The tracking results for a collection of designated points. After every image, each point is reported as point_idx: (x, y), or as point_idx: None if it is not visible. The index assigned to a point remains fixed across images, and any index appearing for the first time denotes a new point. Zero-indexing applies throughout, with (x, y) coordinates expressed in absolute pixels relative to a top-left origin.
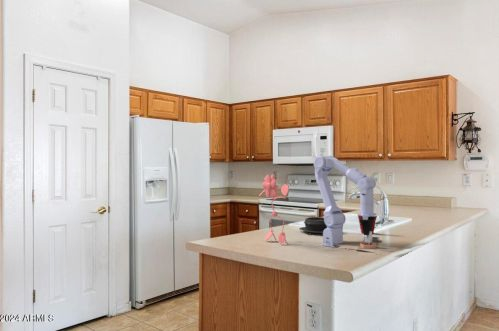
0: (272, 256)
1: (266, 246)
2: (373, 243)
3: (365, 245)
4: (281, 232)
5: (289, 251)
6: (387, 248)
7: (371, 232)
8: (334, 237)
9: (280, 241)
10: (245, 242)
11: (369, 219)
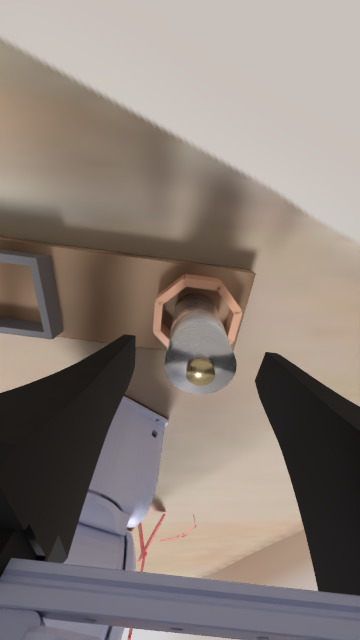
0: (299, 516)
1: (186, 527)
2: (178, 292)
3: (235, 334)
4: (140, 560)
5: (240, 498)
6: (114, 199)
7: (221, 340)
8: (148, 456)
9: (159, 525)
10: (151, 549)
11: (66, 469)
